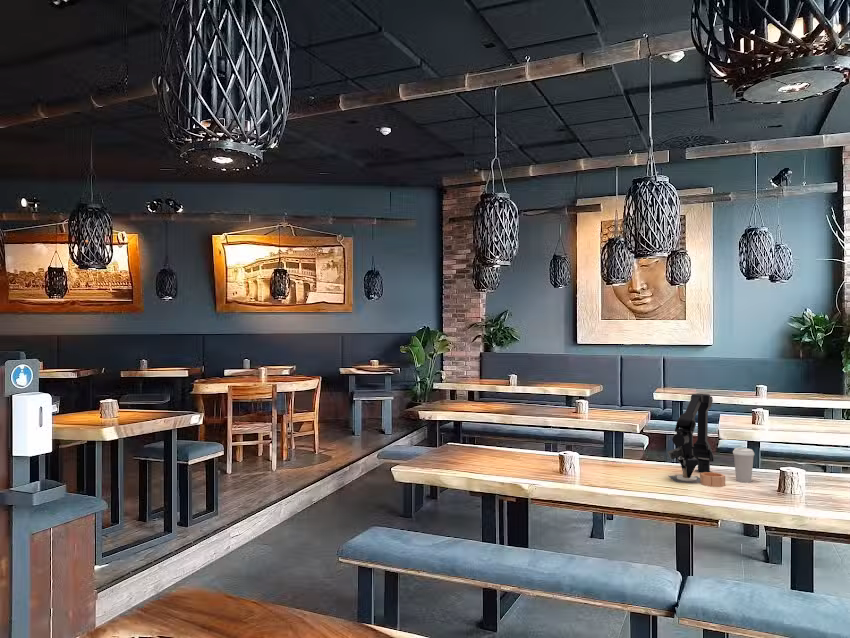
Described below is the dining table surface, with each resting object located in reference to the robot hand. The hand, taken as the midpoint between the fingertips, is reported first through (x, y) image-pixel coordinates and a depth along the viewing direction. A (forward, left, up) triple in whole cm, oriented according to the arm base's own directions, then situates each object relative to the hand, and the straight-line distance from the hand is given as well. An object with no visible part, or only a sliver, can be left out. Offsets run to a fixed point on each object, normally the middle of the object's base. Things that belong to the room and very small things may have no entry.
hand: (686, 476), depth 310 cm
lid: (0, 0, -1) cm, 1 cm away
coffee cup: (-2, +27, -2) cm, 27 cm away
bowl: (+9, +9, -2) cm, 13 cm away
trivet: (0, 0, -2) cm, 2 cm away
